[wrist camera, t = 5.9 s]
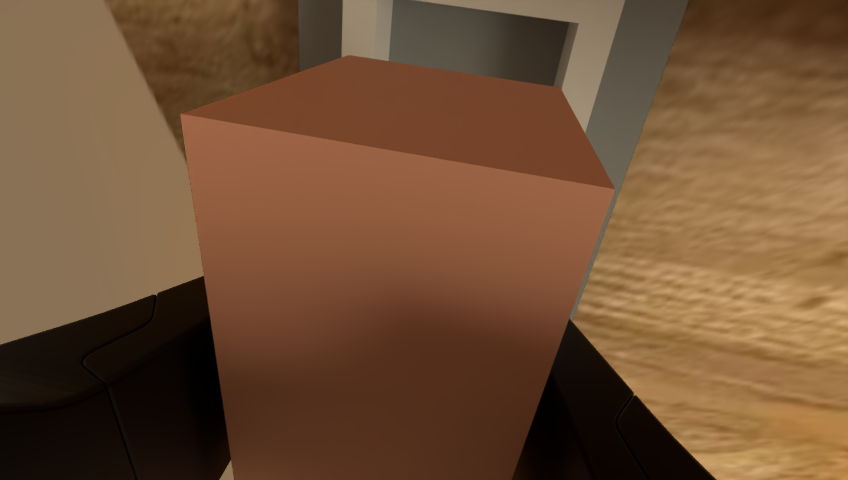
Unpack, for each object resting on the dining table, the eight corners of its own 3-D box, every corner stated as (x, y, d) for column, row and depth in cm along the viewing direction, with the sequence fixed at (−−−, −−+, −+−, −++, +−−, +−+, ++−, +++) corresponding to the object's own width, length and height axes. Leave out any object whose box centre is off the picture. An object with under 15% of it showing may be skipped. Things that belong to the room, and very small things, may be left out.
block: (348, 54, 9) (179, 113, 4) (560, 87, 8) (615, 189, 4) (338, 361, 12) (245, 555, 8) (480, 393, 12) (462, 614, 8)
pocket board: (559, 326, 21) (567, 382, 18) (315, 278, 22) (285, 323, 19) (702, -87, 13) (760, -111, 10) (314, -133, 14) (262, -167, 11)
